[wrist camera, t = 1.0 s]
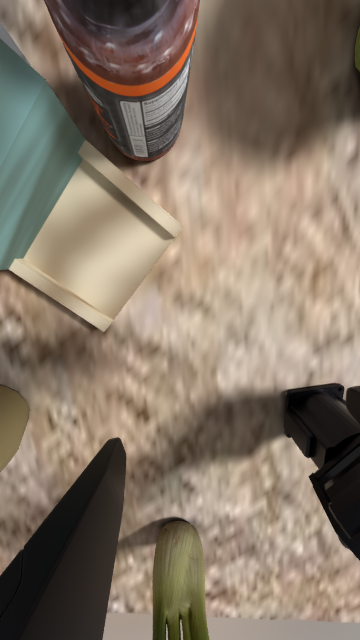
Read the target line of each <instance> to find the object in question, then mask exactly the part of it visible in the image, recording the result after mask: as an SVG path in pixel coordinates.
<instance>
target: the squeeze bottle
mask: <svg viewBox="0 0 360 640" xmlns="http://www.w3.org/2000/svg"><path fill="white" fill-rule="evenodd" d="M29 410H30V409H29V407H28V405H27V402H26V400H25V399H24V398H23V397H22V396H21V395H20V394H19V393H18V392H16V391H14V390H12V389H10V388H8V387H6V386H0V472H1V471H2V470H3V468H4V467H5V466H6V465H7V464H8V463H9V462H10V460H11V459H12V458H13V456H14V455H15V453H16V452H17V451H18V449H19V446H20V443H21V440H22V437H23V434H24V431H25V428H26V425H27V422H28V419H29Z"/></svg>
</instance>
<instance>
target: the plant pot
mask: <svg viewBox="0 0 360 640" xmlns="http://www.w3.org/2000/svg"><path fill="white" fill-rule="evenodd" d="M355 66H356V68H357V69H358V71H359V72H360V26H359V29H358V34H357V38H356V45H355Z"/></svg>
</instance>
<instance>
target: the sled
mask: <svg viewBox="0 0 360 640" xmlns="http://www.w3.org/2000/svg"><path fill="white" fill-rule="evenodd" d="M182 228H183V226H182V225H181V224H179V223H178V222H177V221H176V220H175V219H174V218H173V217H172V216H171V215H169V214H168V213H167V212H166V211H165V210H164V209H163V208H162V207H160V206H159V205H158V204H157V203H156V202H155V201H154V200H153V199H152V198H150V197H149V196H148V195H147V194H146V193H145V192H144V191H143V190H141V189H140V188H139V187H138V186H137V185H136V184H135V183H134V182H133V181H131V180H130V179H129V178H128V177H127V176H126V175H125V174H124V173H122V172H121V171H120V170H119V169H118V168H117V167H116V166H115V165H114V164H112V163H111V162H110V161H109V160H108V159H107V158H106V157H105V156H103V155H102V154H101V153H100V152H99V151H98V150H97V149H96V148H95V147H93V146H92V145H91V144H90V143H89V142H88V141H87V140H86V139H85V138H84V137H83V135H82V134H81V132H80V131H79V129H78V128H77V126H76V125H75V123H74V122H73V120H72V119H71V117H70V116H69V114H68V113H67V111H66V110H65V108H64V107H63V105H62V104H61V102H60V101H59V99H58V98H57V96H56V95H55V93H54V92H53V90H52V89H51V87H50V86H49V84H48V83H47V81H46V80H45V79H44V78H43V77H42V76H41V75H39V74H38V73H37V72H36V71H35V70H34V69H33V68H32V67H31V66H30V65H29V64H28V63H26V62H25V61H24V60H23V59H22V58H21V57H20V56H19V55H18V54H17V53H16V52H15V51H13V50H12V49H11V48H10V47H9V46H8V45H7V44H6V43H5V42H4V41H3V40H2V39H0V270H6V269H9V270H10V271H12V272H14V273H15V274H17V275H18V276H20V277H21V278H23V279H24V280H26V281H27V282H29V283H30V284H32V285H33V286H35V287H36V288H38V289H39V290H41V291H42V292H44V293H45V294H47V295H48V296H50V297H52V298H53V299H55V300H56V301H58V302H59V303H61V304H62V305H64V306H65V307H67V308H68V309H70V310H71V311H73V312H74V313H76V314H77V315H79V316H80V317H82V318H83V319H85V320H87V321H88V322H90V323H91V324H93V325H94V326H96V327H97V328H99V329H100V330H102V331H103V332H105V331H106V329H107V328H108V327H109V325H110V324H111V323H112V321H113V320H114V319H115V317H116V316H117V315H118V313H119V312H120V311H121V309H122V308H123V307H124V305H125V304H126V303H127V301H128V300H129V299H130V297H131V296H132V295H133V293H134V292H135V291H136V289H137V288H138V287H139V285H140V284H141V283H142V281H143V280H144V279H145V277H146V276H147V275H148V273H149V272H150V271H151V269H152V268H153V267H154V265H155V264H156V263H157V261H158V260H159V259H160V257H161V256H162V255H163V253H164V252H165V251H166V249H167V248H168V247H169V245H170V244H171V243H172V241H173V240H174V239H175V237H176V236H177V235H178V233H179V232H180V231H181V229H182Z"/></svg>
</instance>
